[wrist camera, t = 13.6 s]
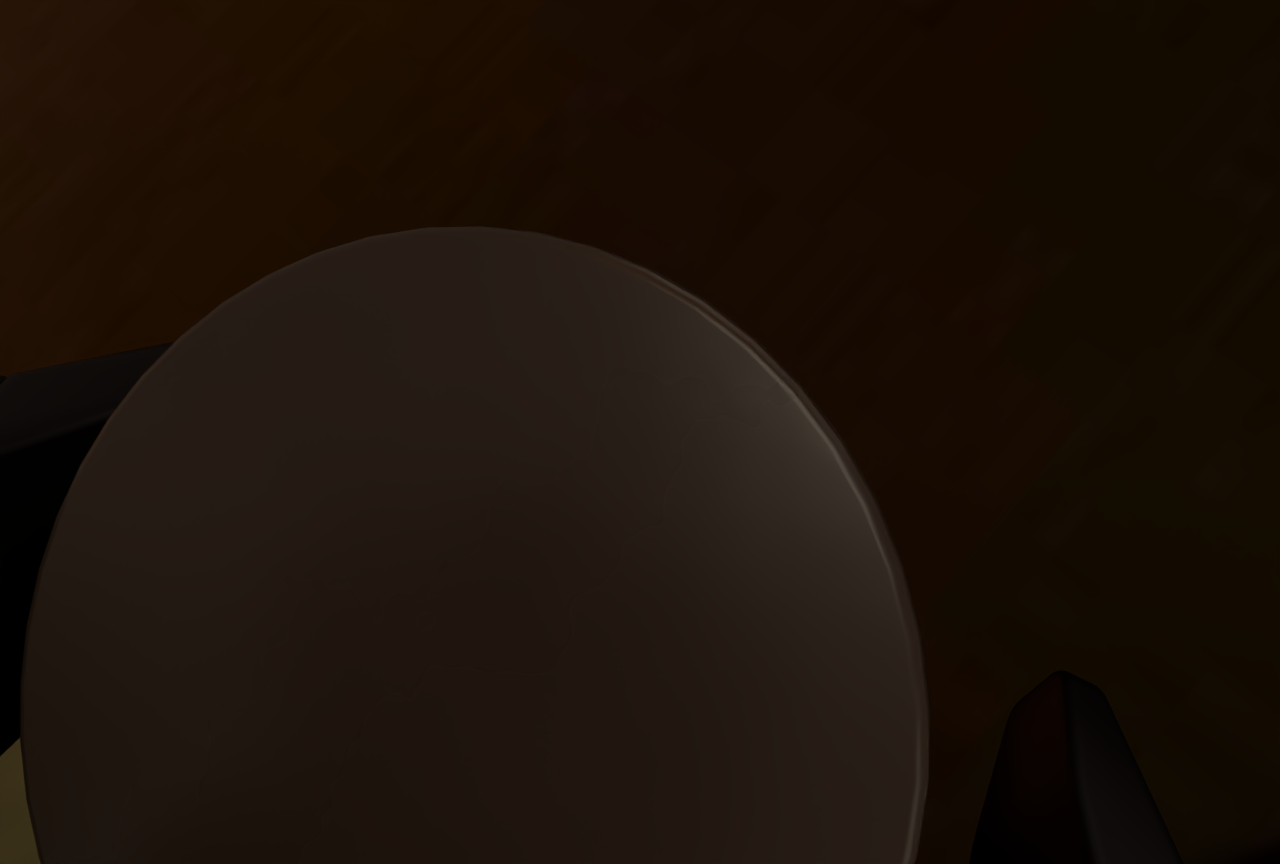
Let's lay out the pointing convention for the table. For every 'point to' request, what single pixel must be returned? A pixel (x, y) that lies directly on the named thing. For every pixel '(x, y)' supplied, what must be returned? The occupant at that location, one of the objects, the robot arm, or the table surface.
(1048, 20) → the table surface
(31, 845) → the potted cactus
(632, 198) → the table surface
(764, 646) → the copper tin
